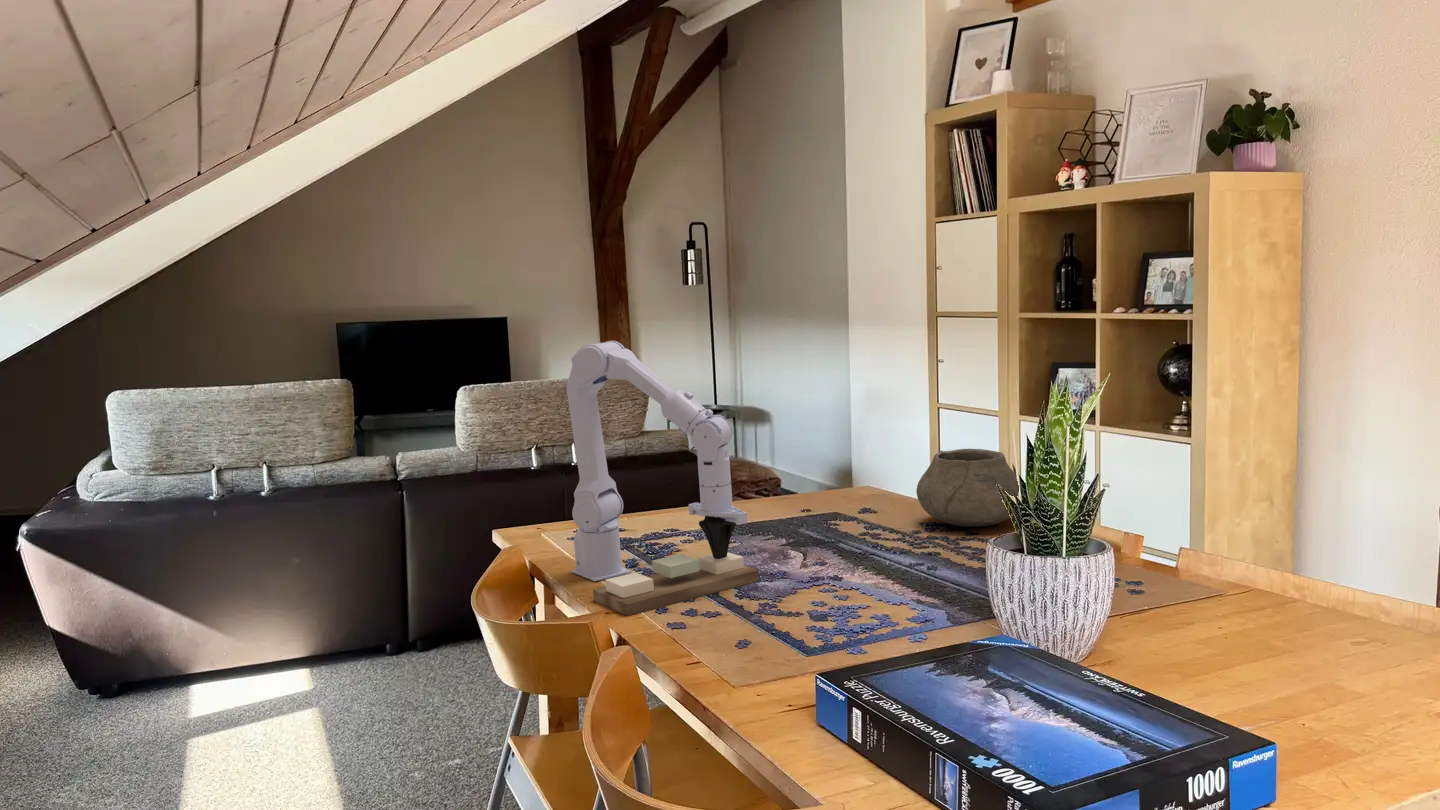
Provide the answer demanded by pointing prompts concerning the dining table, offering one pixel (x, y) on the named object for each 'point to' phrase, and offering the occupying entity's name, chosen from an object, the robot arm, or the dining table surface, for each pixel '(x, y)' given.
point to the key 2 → (720, 563)
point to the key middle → (675, 565)
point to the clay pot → (967, 487)
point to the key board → (676, 590)
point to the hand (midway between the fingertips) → (720, 557)
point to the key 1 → (629, 585)
